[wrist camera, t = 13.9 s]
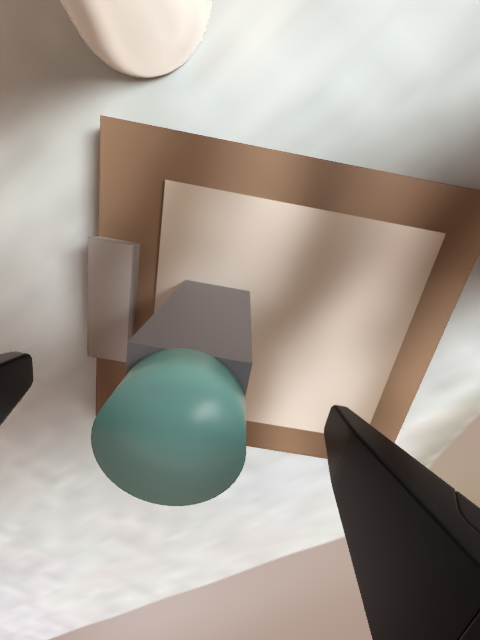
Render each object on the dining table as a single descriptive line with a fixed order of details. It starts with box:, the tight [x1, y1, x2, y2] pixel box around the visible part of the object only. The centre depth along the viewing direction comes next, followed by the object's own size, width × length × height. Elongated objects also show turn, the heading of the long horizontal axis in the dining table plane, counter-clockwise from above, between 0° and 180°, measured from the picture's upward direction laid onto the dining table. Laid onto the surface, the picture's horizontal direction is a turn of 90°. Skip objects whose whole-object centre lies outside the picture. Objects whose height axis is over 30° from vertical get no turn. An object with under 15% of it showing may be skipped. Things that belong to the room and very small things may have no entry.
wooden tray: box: [88, 115, 480, 459], centre depth 16 cm, size 18×16×2 cm
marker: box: [91, 280, 253, 506], centre depth 11 cm, size 3×3×9 cm
